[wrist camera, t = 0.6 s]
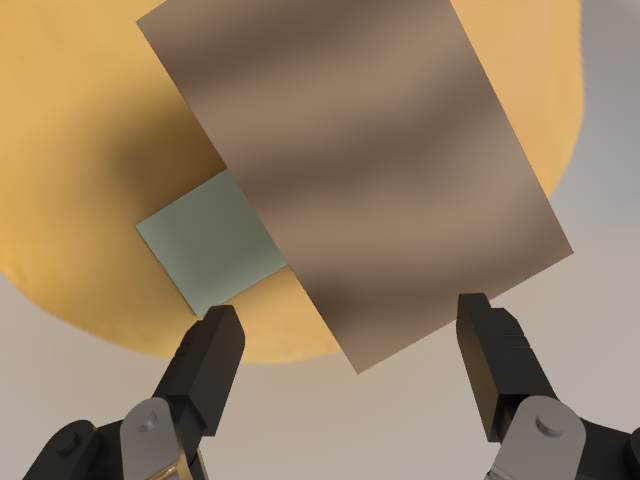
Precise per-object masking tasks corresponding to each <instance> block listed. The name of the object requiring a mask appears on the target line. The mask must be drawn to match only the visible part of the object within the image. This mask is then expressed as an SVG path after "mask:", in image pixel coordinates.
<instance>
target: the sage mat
mask: <svg viewBox="0 0 640 480" xmlns="http://www.w3.org/2000/svg"><path fill="white" fill-rule="evenodd" d="M135 227H136V228H137V230H138V231H139V233H140V234H141V236H142V237H143V238H144V240H145V241H146V243H147V244H148V246H149V247H150V249H151V250H152V252H153V253H154V254H155V256H156V257H157V259H158V260H159V262H160V263H161V265H162V266H163V267H164V269H165V270H166V272H167V273H168V275H169V276H170V278H171V279H172V280H173V282H174V283H175V285H176V286H177V288H178V289H179V291H180V292H181V293H182V295H183V296H184V298H185V299H186V301H187V302H188V304H189V305H190V306H191V308H192V309H193V311H194V312H195V314H196V315H197V317H198V318H199V317H200V316H202V315H204V314H205V313H207V311H208V309H209V308H210V307H211V306H218V305H221V304H222V303H224V302H226V301H227V300H229V299H231V298H232V297H234V296H236V295H237V294H239V293H241V292H242V291H244V290H246V289H247V288H249V287H251V286H253V285H254V284H256V283H258V282H259V281H261V280H263V279H264V278H266V277H268V276H269V275H271V274H273V273H274V272H276V271H278V270H279V269H281V268H283V267H284V266H286V265H288V263H287V261H286V260H285V258H284V256H283V255H282V253H281V252H280V250H279V249H278V247H277V245H276V244H275V242H274V241H273V239H272V237H271V236H270V234H269V233H268V231H267V229H266V228H265V226H264V225H263V223H262V222H261V220H260V218H259V217H258V215H257V214H256V212H255V210H254V209H253V207H252V206H251V204H250V203H249V201H248V199H247V198H246V196H245V195H244V193H243V191H242V190H241V188H240V187H239V185H238V183H237V182H236V180H235V179H234V177H233V176H232V174H231V172H230V171H229V169H228V168H227V169H225V170H223V171H222V172H220V173H219V174H217V175H215V176H214V177H212V178H211V179H209V180H207V181H206V182H204V183H203V184H201V185H199V186H198V187H196V188H195V189H193V190H191V191H190V192H188V193H187V194H185V195H183V196H182V197H180V198H179V199H177V200H175V201H174V202H172V203H171V204H169V205H167V206H166V207H164V208H163V209H161V210H159V211H158V212H156V213H155V214H153V215H151V216H150V217H148V218H147V219H145V220H143V221H142V222H140V223H139V224H137V225H135Z"/></svg>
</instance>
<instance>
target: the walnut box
mask: <svg viewBox="0 0 640 480" xmlns="http://www.w3.org/2000/svg"><path fill="white" fill-rule="evenodd" d="M136 23H137V25H138V26H139V28H140V30H141V31H142V33H143V34H144V36H145V38H146V39H147V41H148V42H149V44H150V46H151V47H152V49H153V50H154V52H155V53H156V55H157V57H158V58H159V60H160V61H161V63H162V65H163V66H164V68H165V69H166V71H167V72H168V74H169V76H170V77H171V79H172V80H173V82H174V84H175V85H176V87H177V88H178V90H179V92H180V93H181V95H182V96H183V98H184V99H185V101H186V103H187V104H188V106H189V107H190V109H191V111H192V112H193V114H194V115H195V117H196V118H197V120H198V122H199V123H200V125H201V126H202V128H203V130H204V131H205V133H206V134H207V136H208V138H209V139H210V141H211V142H212V144H213V145H214V147H215V149H216V150H217V152H218V153H219V155H220V157H221V158H222V160H223V161H224V163H225V164H226V166H227V168H228V169H229V171H230V172H231V174H232V176H233V177H234V179H235V180H236V182H237V183H238V185H239V187H240V188H241V190H242V191H243V193H244V195H245V196H246V198H247V199H248V201H249V203H250V204H251V206H252V207H253V209H254V210H255V212H256V214H257V215H258V217H259V218H260V220H261V222H262V223H263V225H264V226H265V228H266V229H267V231H268V233H269V234H270V236H271V237H272V239H273V241H274V242H275V244H276V245H277V247H278V249H279V250H280V252H281V253H282V255H283V256H284V258H285V260H286V261H287V263H288V264H289V266H290V268H291V269H292V271H293V272H294V274H295V275H296V277H297V279H298V280H299V282H300V283H301V285H302V287H303V288H304V290H305V291H306V293H307V295H308V296H309V298H310V299H311V301H312V302H313V304H314V306H315V307H316V309H317V310H318V312H319V314H320V315H321V317H322V318H323V320H324V321H325V323H326V325H327V326H328V328H329V329H330V331H331V333H332V334H333V336H334V337H335V339H336V341H337V342H338V344H339V345H340V347H341V348H342V350H343V352H344V353H345V355H346V356H347V358H348V360H349V361H350V363H351V364H352V366H353V367H354V369H355V371H356V372H357V374H360V373H361V372H363V371H365V370H366V369H368V368H370V367H372V366H374V365H375V364H377V363H379V362H380V361H383V360H384V359H386V358H388V357H390V356H392V355H393V354H395V353H397V352H399V351H400V350H402V349H404V348H406V347H408V346H409V345H411V344H413V343H415V342H416V341H418V340H420V339H422V338H424V337H425V336H427V335H429V334H431V333H432V332H434V331H436V330H438V329H439V328H441V327H443V326H445V325H447V324H449V323H450V322H452V321H454V320H456V319H457V308H458V297H459V294H462V293H482V292H483V293H485V295H486V297H487V299H488V301H489V300H491V299H493V298H495V297H496V296H498V295H500V294H502V293H504V292H505V291H507V290H509V289H510V288H513V287H514V286H516V285H518V284H520V283H521V282H523V281H525V280H527V279H529V278H530V277H532V276H534V275H536V274H537V273H539V272H541V271H543V270H545V269H546V268H548V267H550V266H552V265H553V264H555V263H557V262H559V261H560V260H562V259H564V258H566V257H568V256H569V255H571V254H573V253H574V252H573V250H572V248H571V246H570V244H569V242H568V240H567V238H566V236H565V234H564V232H563V230H562V228H561V226H560V224H559V222H558V220H557V218H556V216H555V214H554V212H553V210H552V208H551V205H550V203H549V201H548V199H547V197H546V195H545V193H544V191H543V189H542V187H541V185H540V183H539V181H538V179H537V177H536V175H535V173H534V171H533V169H532V167H531V165H530V163H529V161H528V159H527V157H526V155H525V153H524V151H523V148H522V146H521V144H520V142H519V140H518V138H517V136H516V134H515V132H514V130H513V128H512V126H511V124H510V122H509V120H508V118H507V116H506V114H505V112H504V110H503V108H502V106H501V104H500V102H499V100H498V98H497V96H496V94H495V92H494V89H493V87H492V85H491V83H490V81H489V79H488V77H487V75H486V73H485V71H484V69H483V67H482V65H481V63H480V61H479V59H478V57H477V55H476V53H475V51H474V49H473V47H472V45H471V43H470V41H469V39H468V37H467V35H466V33H465V31H464V28H463V26H462V24H461V22H460V20H459V18H458V16H457V14H456V12H455V10H454V8H453V6H452V4H451V2H450V0H167V1H165V2H164V3H162V4H161V5H159V6H158V7H156V8H155V9H153V10H152V11H150V12H149V13H147V14H146V15H145V16H143V17H142V18H140V19H139V20H137V21H136Z"/></svg>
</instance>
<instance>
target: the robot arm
mask: <svg viewBox="0 0 640 480" xmlns="http://www.w3.org/2000/svg"><path fill="white" fill-rule="evenodd" d="M456 333H457V340H458V344H459V347H460V350H461V354H462V357H463V360H464V364H465V367H466V370H467V374H468V377H469V380H470V383H471V387H472V390H473V393H474V397H475V400H476V403H477V406H478V410H479V413H480V417H481V420H482V423H483V426H484V430H485V433H486V436H487V440H488V442H500V444H501V448H500V450H499V452H498V454H497V456H496V458H495V461H494V463H493V465H492V467H491V469H490V471H489V472H488V473H487V474H486V476H485V478H484V480H640V427H639V428H637V429H636V430H635V431H634V432H633V433H632V434H629V433H625V432H622V431H619V430H615V429H611V428H608V427H604V426H601V425H597V424H594V423H591V422H589V421H587V420H584V419H582V418H581V417H579V416H577V414H576V413H575V412H574V411H573V410H571V409H570V408H569V407H568V406H566V405H565V404H564V403H562V402H561V401H560V400H559V399H558V398H557V396H556V394H555V393H554V391H553V389H552V387H551V385H550V383H549V381H548V379H547V377H546V376H545V374H544V371H543V370H542V368H541V366H540V364H539V362H538V360H537V358H536V356H535V354H534V352H533V350H532V349H531V348H530V345H529V342H528V341H527V339H526V337H525V336H524V333H523V331H522V329H521V327H520V325H519V323H518V321H517V319H515V318H514V317H513V316H512V315H511V314H510V313H509V312H508V311H507V310H505V309H504V308H491V305H490V304H489V301H488V299H487V297H486V295H485V293H483V292H482V293H462V294H459V297H458V308H457V321H456ZM244 347H245V334H244V331H243V328H242V326H241V323H240V321H239V319H238V316H237V314H236V311H235V309H234V307H233V306H232V305H218V306H211V307H210V308H209V309H208V311H207V313H206V315H205V317H204V319H203V320H201V321H197V322H196V323H195V324H194V325H193V326H192V327H191V328H190V329H189V330H188V331H187V332H186V334H185V336H184V338H183V340H182V341H181V343H180V347H178V349H177V351H176V353H175V357H173V358H172V360H171V362H170V364H169V366H168V368H167V370H166V371H165V374H164V376H163V377H162V379H161V381H160V383H159V384H158V386H157V388H156V390H155V392H154V394H153V395H152V397H151V398H150V399H147V400H144V401H142V402H141V403H139V404H138V405H136V406H135V407H134V408H133V409H132V410H131V411H130V412H129V413H128V415H126V417H125V419H123V420H120V421H116V422H113V423H111V424H107V425H104V426H101V427H98V428H96V427H95V426H94V425H93V424H92V423H91V422H90V421H88V420H78V421H75V422H72V423H70V424H68V425H66V426H65V427H63V428H62V429H60V430H59V431H58V432H57V433H56V434H54V435H53V436H52V438H51V439H50V440H49V441H48V442H47V444H46V445H45V447H44V448H43V450H42V451H41V453H40V454H39V456H38V457H37V458H36V460H35V461H34V463H33V464H32V466H31V467H30V469H29V471H28V472H27V473H26V475H25V476H24V478H23V479H22V480H209V479H208V475H207V472H206V469H205V466H204V462H203V458H202V455H201V451H200V449H199V447H198V446H199V443H200V441H201V438H202V436H215V434H216V430H217V428H218V425H219V421H220V419H221V416H222V413H223V410H224V407H225V404H226V401H227V398H228V395H229V392H230V389H231V386H232V383H233V380H234V377H235V374H236V371H237V368H238V365H239V362H240V360H241V357H242V354H243V351H244Z"/></svg>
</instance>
